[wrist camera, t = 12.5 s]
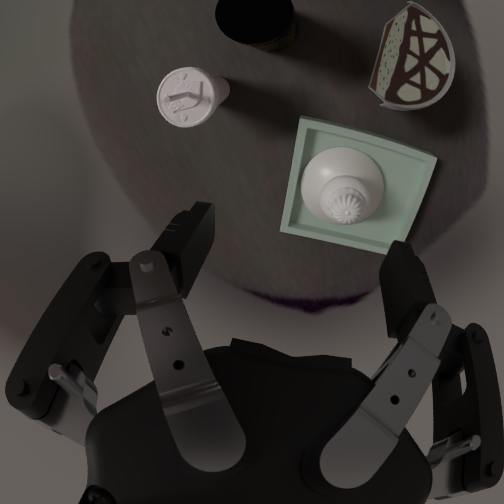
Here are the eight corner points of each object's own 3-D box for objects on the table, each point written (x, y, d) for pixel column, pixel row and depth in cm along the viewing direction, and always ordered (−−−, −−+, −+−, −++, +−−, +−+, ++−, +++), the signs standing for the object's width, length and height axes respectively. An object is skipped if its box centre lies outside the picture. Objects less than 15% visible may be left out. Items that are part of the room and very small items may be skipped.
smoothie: (250, 91, 30) (213, 105, 19) (214, 121, 33) (163, 153, 22) (218, 56, 28) (163, 53, 17) (183, 88, 31) (120, 106, 20)
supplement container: (306, 13, 22) (303, -11, 14) (290, 59, 26) (280, 52, 18) (251, 0, 22) (226, -24, 14) (236, 45, 26) (206, 37, 18)
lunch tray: (300, 115, 31) (299, 118, 29) (430, 152, 29) (437, 158, 27) (281, 222, 41) (279, 231, 39) (393, 247, 39) (396, 257, 37)
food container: (408, 116, 27) (440, 135, 19) (364, 98, 27) (384, 108, 20) (431, 36, 19) (470, 30, 12) (387, 14, 20) (414, -3, 12)
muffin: (366, 166, 31) (377, 188, 26) (364, 209, 35) (373, 238, 29) (317, 166, 33) (318, 188, 27) (319, 209, 36) (320, 238, 31)
